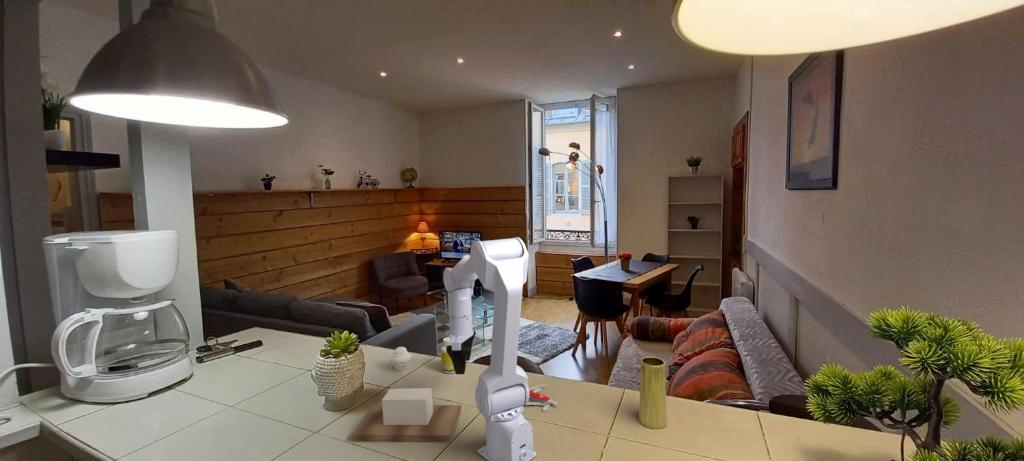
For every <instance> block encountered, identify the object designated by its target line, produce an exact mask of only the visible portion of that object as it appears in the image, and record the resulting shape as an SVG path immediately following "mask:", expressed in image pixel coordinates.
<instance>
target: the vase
mask: <svg viewBox="0 0 1024 461" xmlns="http://www.w3.org/2000/svg"><path fill="white" fill-rule="evenodd" d="M666 366H667V365H666V361H665V360H664V359H662V358H660V357H658V356H644V357H641V359H640V387H639V388H640V389H639V411H638V421H639V422H640V423H641V424H642V425H643V426H644V427H646V428H650V429H656V430H657V429H658V430H659V429H660V430H661V429H663V428H665V427H666V426H667V424H668V421H667V420H668V419H667V391H666Z"/></svg>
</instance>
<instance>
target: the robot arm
mask: <svg viewBox="0 0 1024 461" xmlns="http://www.w3.org/2000/svg"><path fill="white" fill-rule="evenodd" d="M469 253H470V254H468V255H467V254H466V255H463V256H461V260H459V261H458V262H457V263H456V264H455V266H454V267H445V268H444V271H443V284H444V288H445V290H446V291H447V300H448V318H449V329H448V330H446V331H445V332H444V335H445V336H446V337H450V339H451V341H452V345H448V346H447V347H446V351H447V353H448V355H449V356H450V358H451V360H452V363H453V367H454V370H455V373H454V374H455V375H464V374H465V373H466V368H467V362H468V361H471V360H470V359H471V356H472V347H473V341H474V339H475V337H476V334H477V332H476V331H475V330H474V328H473V327H474V326H473V311H472V310H473V309H472V308H473V307H472V305H473V304H472V296H474V287H475V281H476V280H477V279H478V280H479V281H480V283H481V285H482V287H483V289H486V290H488V291H491V292H493V294H494V298H493V316H492V329H491V331H492V332H491V346H490V347H491V348H490V349H491V350H490V351H491V352H490V363H489V365H488V367H486V369H484V371H482V372H481V373H480V375H479V376H478V380H477V386H476V388H475V392H474V398H475V402H476V407H477V410H478V412H479V413H480V415H482V416H483V417H484V419H485V420H484V421H485V435H486V436H485V441H486V445H483V446H482V447H480V448H479V449H478V450H477V453H478V454H479V455H481V456H482V457H483V458H484V459H486V460H487V461H532V459H534V458H535V457H537V452H536V451H535V450H534V431H533V426H532V424H531V423H530V422H529V421H528V420H527V419H526V418H525V417H524V414H522V413H523V412H524V410H525V406H527V405H526V404H527V403H529V401H528V400H529V388H530V387H529V378H528V375H527V373H526V372H525V370H524V369H523V368H522V366H519V365H518V364H517V363H518V351H519V350H518V349H519V337H520V326H521V325H520V324H521V313H522V302H523V288H524V287H523V286H524V284H526V282H527V280H528V269H529V257H530V256H529V252H528V250H527V247H526V244H525V242H524V241H523V240H522V238H521V237H518V236H515V237H512V238H511V237H510V238H502V239H493V240H492V239H491V240H490V239H489V240H482V241H481V240H475V241H474V242H473V243H472V245H471V246H470V252H469Z"/></svg>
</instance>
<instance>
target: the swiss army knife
mask: <svg viewBox="0 0 1024 461" xmlns="http://www.w3.org/2000/svg"><path fill="white" fill-rule="evenodd" d="M545 386H546V383H544V384H539V385H536V386H531V387H529V400H528V403H527V404H526V405H525V406H532V405H533V406H541V407H543V408H542V412H546V411H547V410H549V408H550V405H551V403H552V404H553V405H558V404H559V403H558V402H557V401H556V400H553V399H550V397H549V396H546V395H544V394H540V393H538V392H539V391H541V390H542V388H541V387H545Z"/></svg>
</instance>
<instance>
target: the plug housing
mask: <svg viewBox="0 0 1024 461" xmlns="http://www.w3.org/2000/svg"><path fill="white" fill-rule="evenodd" d="M381 405H382V407H383V421H384V425H428V423H429V421H430V418H431V416H432V414H433V405H434V404H433V389H432V388H427V387H426V388H389V390H388V391H387V392H386V394H385V395H384V397H383V398H382V399H381Z"/></svg>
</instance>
